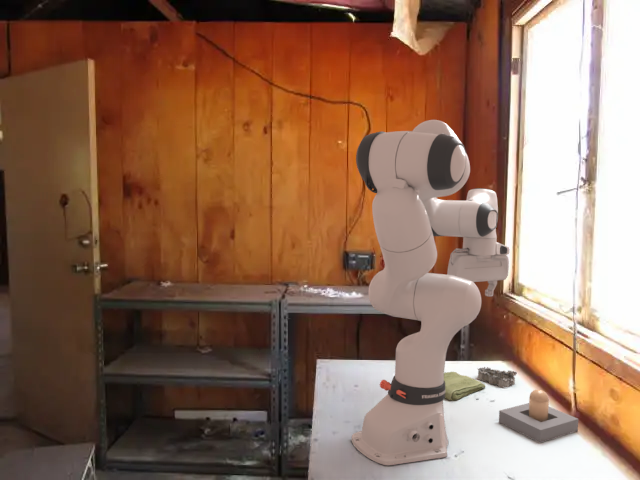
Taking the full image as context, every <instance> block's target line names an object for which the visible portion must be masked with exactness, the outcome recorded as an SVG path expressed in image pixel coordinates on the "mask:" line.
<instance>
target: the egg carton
mask: <svg viewBox="0 0 640 480" xmlns="http://www.w3.org/2000/svg"><path fill="white" fill-rule="evenodd" d="M477 370H478V371H477V374H478V375H477V378H478V381H486V382H488V384H491V385H492V384H493V385H498V387H500V388H509V387H510V386H514V385H515V383H516V382H515V381H516V380H515V379H516V378H515V376H517V373H518V371H514V370H507V371H506V370H499V369H495V368H494V369H491V367H488V366H484V367H480V368H477Z"/></svg>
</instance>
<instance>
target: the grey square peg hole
mask: <svg viewBox="0 0 640 480" xmlns="http://www.w3.org/2000/svg"><path fill="white" fill-rule="evenodd" d="M498 423H499V424H502V425H504V426H506V427H508V428H510V429H512V430H514V431H515V432H517V433H520V434H522V435H524V436H526V437H528V438H530V439H532V440H534V441H536V442H538V443H543V442H547V441H549V440H553V439H556V438H559V437H563V436H566V435H570V434H572V433H574V432H578V430H579V418H577V417H575V416H573V415H570V414H568V413H565V412H564V411H560V410H559V409H556V408H553V407H551V406H549V408H548V420H547V421H544V422H540V421H537V420H535V419H533V418H531V417H529V402H528V403H524V404H520V405H519V404H518V405H516V406H512V407H509V408H504V409H500V410H499V411H498Z"/></svg>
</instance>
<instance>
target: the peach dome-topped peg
mask: <svg viewBox="0 0 640 480" xmlns="http://www.w3.org/2000/svg"><path fill="white" fill-rule="evenodd" d="M528 401H529V402H528V403H529V417H531V418H533V419H535V420H537V421H540V422H544V421H547V420H548V408H549V407H550V403H549V402H550V397H549V395H548V394H547V392H545V390H542V389H538V388H537V389H533V390H531V392H530V393H529V399H528Z"/></svg>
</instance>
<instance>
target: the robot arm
mask: <svg viewBox="0 0 640 480" xmlns="http://www.w3.org/2000/svg"><path fill="white" fill-rule="evenodd" d="M355 161H356V162H355V163H356V166H357V171H358V173H359V175H360V177H361V179H362V180H363V182H364V185H365V186H366V188H367V189H368V190H369V191H370V192H372V193H374V194H375V196H374V198H373V200H372V202H371V203H372V205H371V207H372V208H371V209H372V218H373V219H372V220H373V225H374V230H375V234H376V238H377V242H378V244H379V248H380V251H381V254H382V258H383V262H384V267H383V269H382V270H380V271H379V272H377V273H376V274H375V275H373V277H372V279H371V281H370V283H369V285H368V292H367V293H368V294H367V295H368V299H369V303H370V304H371V306H372V308H373V309H374V310H375V311H377V312H380V313H382V314H385V315H387V316H391V317H394V318H402V319H409V320H414V321H419V322H421V325H420V330H419V331H418V332H414V333H412V334H409V335H407V336H405V337H403V338H401V340H400V341H399V342H398V343H397V345H396V348H395V362H394V363H395V365H394V367H395V368H394V369H395V370H394V376H393V378H392V380H391V382H390V381H387V380H386V379H382V380H380V382H379V387H380V388H381V389H383V390H384V391H387V394H386V395H385V396H384V397H383V398H382V399H380V400H379V401H378V402H377V404H375V406H373V407H372V408H371V409H370V410H369V411H367V413H366V414H365V415H364V419H363V421H362V427H361V428H362V429H361V430H360V431H356V432H355V433H353V434H351V443H352V445H353V447H355V449H357V451H359V452H360V453H361V454H362V455H363V456H365V457H366V458H368V459H370V460H371V461H373V462H374V463H377V464H380V465H384V466H393V465H400V464H407V463H414V462H415V463H416V462H419V461H420V462H421V461H422V462H423V461H427V460H434V459H441V458H446V457H448V449H447V447H448V446H449V439H448V435H447V430H446V423H445V422H446V421H445V411H444V410H445V409H444V400H445V399H446V398H445V392H446V391H445V381H444V373H445V367H446V358H447V352H448V349H449V345H450V343H451V341H452V340H453V338H454V337H455V335H456V334H457V333H459V331H461V330H462V329H463V328H465V327H466V326H468V325H469V324H471V323H472V322H473V321H475V319H477V316H479V313H480V311H481V308H482V295H481V292H480V289H479V287H478V286H477V285H476V283H477V282H481V283H482V282H487V284H488V285H487V288H486V289H485V290H484V295H485V297H493V296H494V290H495V289H496V287H497V285H498V281H505V280H506V279H507V278H508V276H509V269H510V268H509V267H510V263H509V262H510V261H509V257H508V255H509V253H510V247H509V246H507V245H505V244H502V243H500V242H497V240H498V239H497V238H498V236H497V229H496V228H497V227H498V220H499V207H498V197H497V192H496V191H494V190H492V189H489V188H481V187H480V188H479V187H477V188H472V189H470V190H468V192H467V195H466V200H453V199H447V200H446V199H439V198H440V197H441V198H442V197H448V196H452V195H453V194H456V193H457V192H458V191H460V190H461V189H462V188H463V187H464V185H465V184H466V183H467V181H468V179H469V177H470V173H471V165H470V160H469V156H468V154H467V150H466V148H465V145H464V144H463V142H462V141H461V140H460V139H459V137H458V136H457V134H456V133H455V132H454V130H453V129H452V128H451V127H450V126H449V125H448V124H447V123H445V122H444V121H442V120H439V119H438V120H437V119H430V120H425V121H422V122H421V123H419V124H417V126H415V127H414V128H413V130H400V131H398V130H397V131H387V132H385V131H377V132H372V133H369V134H367V135H365V136H364V137H363V138H362V140H361V141H360V143H359V145H358V147H357V149H356V154H355ZM435 237H457V238H458V237H459V238H462V239H463V240H462V241H463V242H462V248H455V249H454V250H453V251H452V252H451V253H450V255H449V256H450V257H449V261H448V264H447V265H448V266H447V274H443V273H433V272H430V271H431V270H432V269H433V267H434V266H435V264H436V263H437V260H438V250H437V245H436V242H435Z"/></svg>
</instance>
